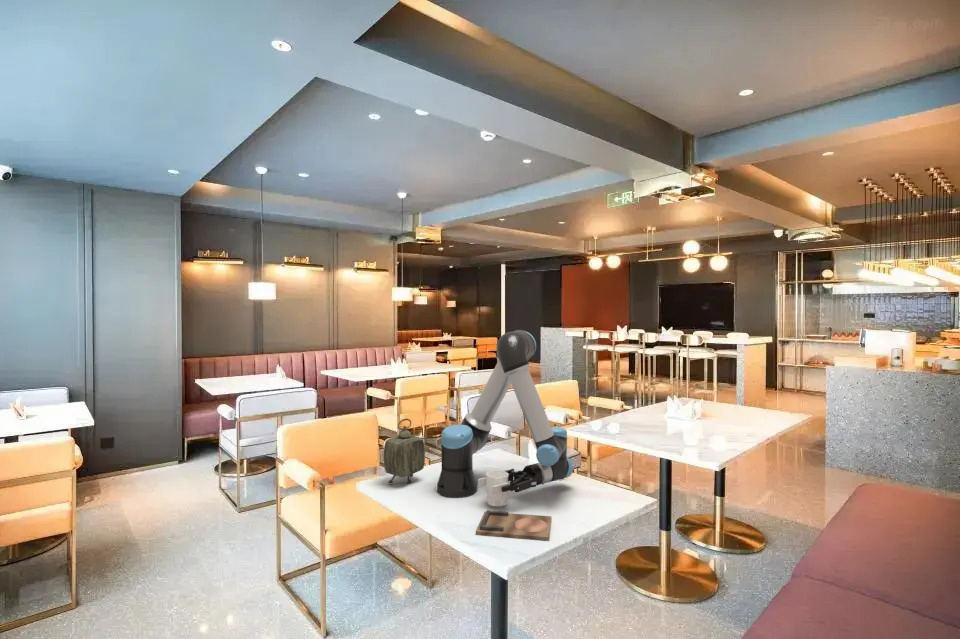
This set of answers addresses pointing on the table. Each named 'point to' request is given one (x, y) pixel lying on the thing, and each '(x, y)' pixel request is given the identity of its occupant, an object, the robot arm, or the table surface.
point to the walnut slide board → (514, 525)
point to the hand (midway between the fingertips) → (485, 486)
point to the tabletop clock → (404, 454)
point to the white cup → (492, 480)
